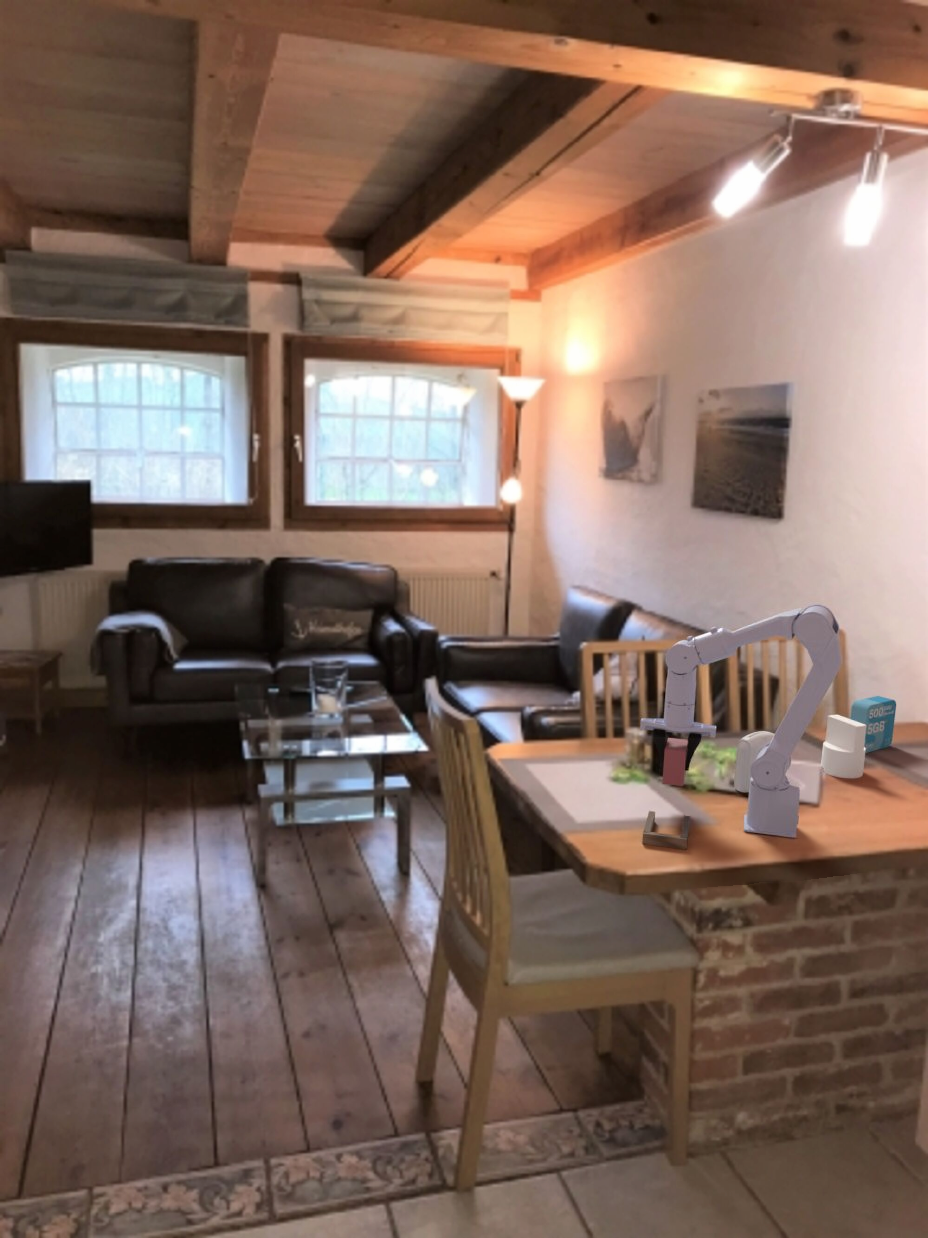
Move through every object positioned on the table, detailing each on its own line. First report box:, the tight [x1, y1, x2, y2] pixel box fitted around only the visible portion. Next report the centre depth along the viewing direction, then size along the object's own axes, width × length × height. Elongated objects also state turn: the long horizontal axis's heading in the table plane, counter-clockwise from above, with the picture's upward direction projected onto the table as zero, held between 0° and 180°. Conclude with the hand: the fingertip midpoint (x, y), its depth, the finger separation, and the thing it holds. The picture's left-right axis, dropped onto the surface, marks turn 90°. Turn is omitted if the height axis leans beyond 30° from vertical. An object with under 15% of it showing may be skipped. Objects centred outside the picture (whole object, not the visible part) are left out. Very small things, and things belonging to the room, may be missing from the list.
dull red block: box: [662, 737, 688, 787], centre depth 199 cm, size 4×8×7 cm, turn 164°
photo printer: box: [733, 730, 775, 794], centre depth 214 cm, size 10×4×12 cm, turn 123°
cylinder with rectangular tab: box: [820, 714, 867, 779], centre depth 226 cm, size 9×9×12 cm
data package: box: [849, 695, 897, 754], centre depth 244 cm, size 12×4×12 cm, turn 125°
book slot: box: [641, 810, 691, 851], centre depth 189 cm, size 8×11×2 cm
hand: (675, 767), depth 200 cm, fingers closed on dull red block, 4 cm apart
